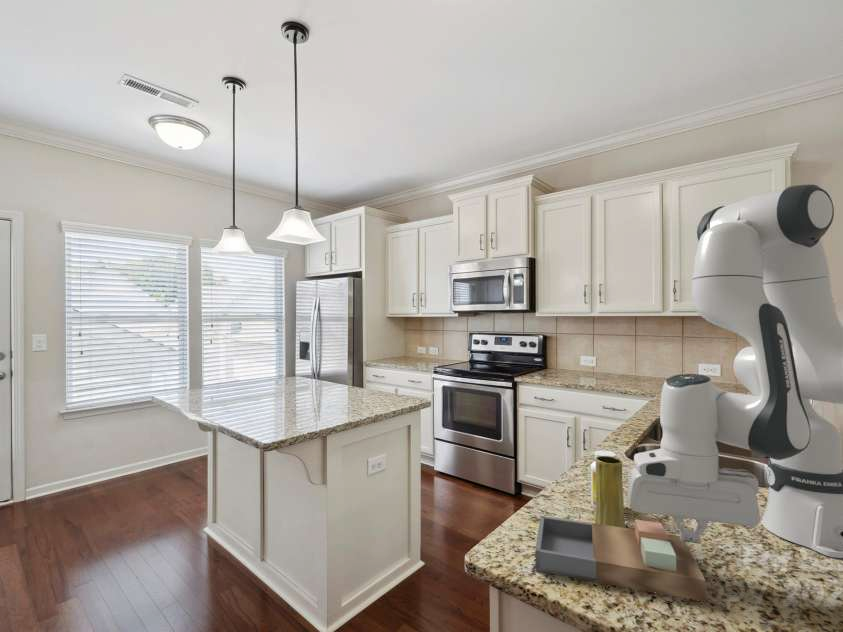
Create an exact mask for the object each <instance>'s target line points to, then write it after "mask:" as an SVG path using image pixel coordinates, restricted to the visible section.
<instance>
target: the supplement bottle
mask: <svg viewBox="0 0 843 632" xmlns="http://www.w3.org/2000/svg"><path fill="white" fill-rule="evenodd" d="M598 456H612V457H616V458H617V454H616V453H615V452H613V451H608V450H596V451H595V452H594V459H595V461H593V462H592V463H591V464H590V504H591V505H592V507H593V508H594V509H596V457H598Z"/></svg>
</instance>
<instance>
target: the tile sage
mask: <svg viewBox="0 0 843 632" xmlns="http://www.w3.org/2000/svg"><path fill="white" fill-rule="evenodd" d="M641 553H642V556H643V560H644V563H645V566H650V567H656V568H661V569H667V570H673V571H676V555H675V552H674V550H673V548H672V546H671V544H670V542H668V541H661V540H655V539H648V538H641Z"/></svg>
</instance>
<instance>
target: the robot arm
mask: <svg viewBox="0 0 843 632" xmlns="http://www.w3.org/2000/svg"><path fill="white" fill-rule="evenodd" d="M834 209H835V207H834V203H833V199H832V198H831V196H830V195H829V193H828V192H827V191H826V190H825V189H823V188H822V187H820V186H819V185H816V184H797V185H791V186H789V187H786V188H784V189H778V190H776V189H775V190H772V191H767V192H763V193H758V194H755V195H752V196H749V197H747V198H743V199H741V200H738V201H735V202H733V203H729V204H727V205H722V206H718V207H716V208H714V209H711V210H710V211H708V212H707V213H705V214H703V216H702V218H701V220H700V221H699V223H698V226H697V228H696V229H697V230H696V237H697V241H698V243H697V247H696V250H695V251H696V252H695V256H694V261H693V269H692V277H691V280H692V281H691V302H692V306H693V308H694V311H696V313H697V314H698V315H699V316H700V317H702V318H703V319H704V320H705V321H707V322H708V323H711V324H712V325H715V326H717V327H719V328H723V329H724V330H728V331H730V332H733V333H735V334H737V335H739V336H741V337H742V338H743V339H744V340H746V341H747V342H748V343H749V344H750V345H751V346H746V347H743V348H742V349H741V350H739V351H738V353H737V354H736V356H735V358H734V361H733V365H732V366H733V369H732V370H733V373H734V376H735V379H736V380H737V382H739V384H741V385H742V386H743V387H744V388H745V389H747V390H748V391H749V392H750V393H751V394H745V393H739V392H738V393H737V392H732V391H730V390H729V391H728V390H725V389H723V388H720V387H718V386H716V385H714V382H713V380H712V379H711V378H710V377H709V376H707V375H703V374H697V373H685V374H684V373H683V374H681V373H680V374H675V375H672V376H670V377H668V378H666V379H665V380H664V383H663V385H662V389H661V394H660V395H661V396H660V404H659V422H660V426H661V428H662V430H661V431H662V436H661V437H662V438H661V440H660V448H657V449H656V448H655V449H652V450H647V451H642V452H638V453H635V454H634V456H633V463H634V467H633V468H632V469H631V470H630V472H629V475H628V481H627V490H626V499H627V504H628V506H629V508H630V509H631V510H632V511H633V512H635V513H636V512H637V513H644V514H652V515H660V516H667V517H672V519H673V521H674V523H675V525H676V526H677V527H678V530H679V535H678V536H680V539H681V541H683V542H686V543H692V544H697V545H700V544H701V539H702V537H701V535H703V534H704V532H705V531H707V528H708V526H709V525H708V524H709V523H708V522H711V523H713V522H714V523H719V524H727V525H736V526H740V527H741V526H743V527H750V528H755V527H756V526H758V524H759V523H760V522H761V524H762V526H763V527H764V528H765V529H766V530H768V531H769V532H771V533H772V534H773V535H776V536H778V537H779V538H782V539H784V540H786V541H789V542H791V543H794V544H796V545H799V546H803V547H806V548H808V549H811V550H812V551H813V550H814V551H816V552H818V553H820V554H821V555H825V556H826V557H829V558H836V559H843V438H842V435H841V433H840V431H839V429H838V428H837V427H836V426H835V425H834V424H833V423H831V422H830V421H828V420H827V419H825V418H824V417H822V416H821V415H820V414H819V413H818V412H817V411H816V410H815V409H814V407H813V405H812V403H811V400H812V401H816V402H817V401H818V402H825V403H832V404H838V405H843V325H842V323H841V321H840V319H839V317H838V314H837V312H836V308H835V303H834V298H833V292H832V291H833V290H832V286H831V279H830V278H831V277H830V271H829V265H828V260H827V256H826V252H825V249H824V245H823V242H822V240H821V238H822V237H823V236H825V234H826V233H827V232H828V230H829V229H830V227H831V225H832V223H833V221H834V216H835V210H834ZM716 442H718V443H722V444H725V445H729V446H733V447H736V448H740V449H745V450H748V451H751V452H754V453H756V454H759V455H761V456H765V457H767V467H766V479H767V484H768V486H769V487H768V496H767V500H766V501H767V502H766V505H765V506H766V507H765V509H764V512H763V513H764V514H763V516H762V519H761V518H760V517H761V516H760V509H759V508H760V507H759V503H758V499H757V495H758V494H759V479H758V478H757V477H756V476H755V475H754V474H752V473H751V472H749V471H748V470H747V469H740V468H739V469H736V468H735V469H733V468H730V467H729V468H727V467H719V449H718V446H717V443H716ZM685 519H688V520H695V521H696V525H695V526H694V527H693V529H691V528H684V527H683V525H682V524H684V523H685V521H684V520H685Z"/></svg>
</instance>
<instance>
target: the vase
mask: <svg viewBox="0 0 843 632" xmlns="http://www.w3.org/2000/svg"><path fill="white" fill-rule="evenodd" d="M595 461H596V508H595V518H594V524H601V525H608V526H615V527H622V528H626V523H625V508H624V507H625V505H624V504H625V503H624V488H623V487H624V486H623V461H622V459H620V458H618V457H617V456H616V457H612V456H598V457H596V459H595Z"/></svg>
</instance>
